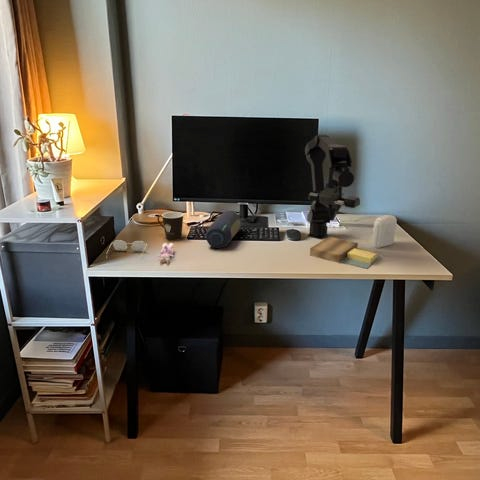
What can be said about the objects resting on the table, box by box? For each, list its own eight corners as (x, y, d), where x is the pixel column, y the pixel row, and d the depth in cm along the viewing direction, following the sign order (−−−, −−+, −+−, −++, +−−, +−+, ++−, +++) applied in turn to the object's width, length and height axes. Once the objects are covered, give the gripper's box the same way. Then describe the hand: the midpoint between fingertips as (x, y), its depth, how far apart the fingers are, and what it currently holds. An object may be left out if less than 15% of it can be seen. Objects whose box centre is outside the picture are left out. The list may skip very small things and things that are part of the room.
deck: (310, 255, 175) (310, 248, 174) (328, 243, 187) (329, 236, 186) (339, 263, 169) (339, 255, 168) (357, 250, 181) (357, 242, 180)
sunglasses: (148, 252, 179) (146, 241, 176) (142, 264, 171) (140, 252, 169) (113, 251, 180) (111, 239, 177) (105, 262, 173) (103, 251, 170)
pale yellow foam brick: (346, 257, 172) (347, 252, 172) (353, 253, 177) (353, 248, 176) (370, 263, 168) (370, 258, 167) (376, 258, 172) (376, 253, 171)
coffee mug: (187, 238, 192) (187, 215, 188) (168, 242, 187) (167, 219, 184) (175, 231, 201) (174, 208, 197) (156, 234, 196) (155, 212, 193)
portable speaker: (228, 251, 179) (228, 227, 175) (203, 249, 181) (203, 225, 178) (243, 231, 202) (243, 209, 198) (221, 229, 204) (221, 207, 200)
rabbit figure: (173, 268, 167) (177, 247, 180) (172, 254, 164) (176, 233, 177) (155, 268, 167) (161, 247, 180) (154, 254, 164) (159, 233, 177)
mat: (340, 262, 169) (340, 261, 169) (355, 250, 180) (356, 250, 180) (366, 268, 164) (366, 268, 164) (381, 256, 174) (381, 256, 174)
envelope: (382, 229, 207) (375, 219, 220) (383, 224, 206) (376, 215, 219) (328, 226, 208) (324, 217, 221) (328, 222, 207) (325, 213, 220)
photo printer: (386, 241, 191) (390, 212, 186) (395, 244, 187) (399, 214, 183) (369, 245, 185) (372, 216, 181) (378, 249, 182) (381, 219, 178)
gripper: (302, 180, 171) (300, 221, 177) (349, 188, 161) (345, 231, 166) (316, 175, 180) (314, 213, 185) (362, 182, 169) (358, 223, 175)
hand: (332, 220), depth 178 cm, fingers closed
